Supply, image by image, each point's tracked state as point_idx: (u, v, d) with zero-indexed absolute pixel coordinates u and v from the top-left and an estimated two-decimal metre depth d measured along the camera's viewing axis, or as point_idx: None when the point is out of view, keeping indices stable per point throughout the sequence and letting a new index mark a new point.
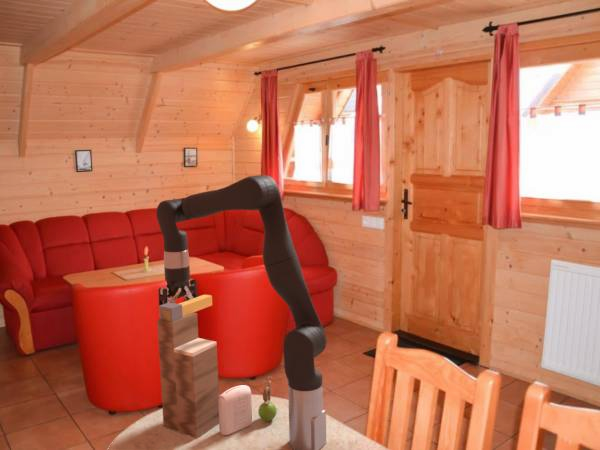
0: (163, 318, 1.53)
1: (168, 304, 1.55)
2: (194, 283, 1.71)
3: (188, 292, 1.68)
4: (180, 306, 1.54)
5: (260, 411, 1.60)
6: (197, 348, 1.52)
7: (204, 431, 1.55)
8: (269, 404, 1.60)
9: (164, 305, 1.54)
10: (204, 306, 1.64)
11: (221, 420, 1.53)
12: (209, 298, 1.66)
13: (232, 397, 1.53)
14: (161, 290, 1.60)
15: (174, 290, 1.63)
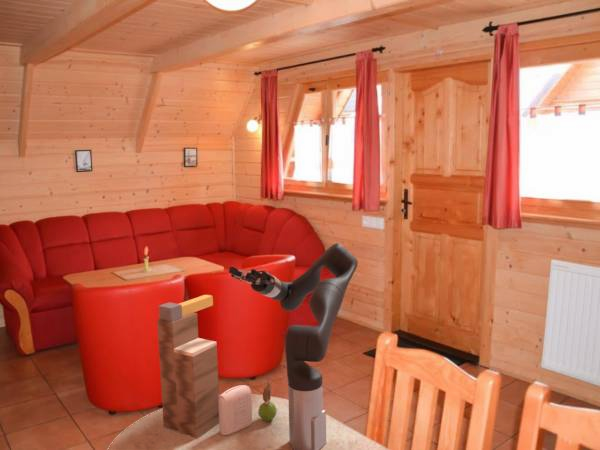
0: (163, 318, 1.54)
1: (168, 304, 1.55)
2: None
3: None
4: (180, 306, 1.54)
5: (260, 411, 1.60)
6: (197, 348, 1.52)
7: (204, 431, 1.55)
8: (269, 404, 1.60)
9: (164, 305, 1.54)
10: (204, 306, 1.64)
11: (221, 420, 1.53)
12: (210, 298, 1.66)
13: (232, 397, 1.53)
14: None
15: None
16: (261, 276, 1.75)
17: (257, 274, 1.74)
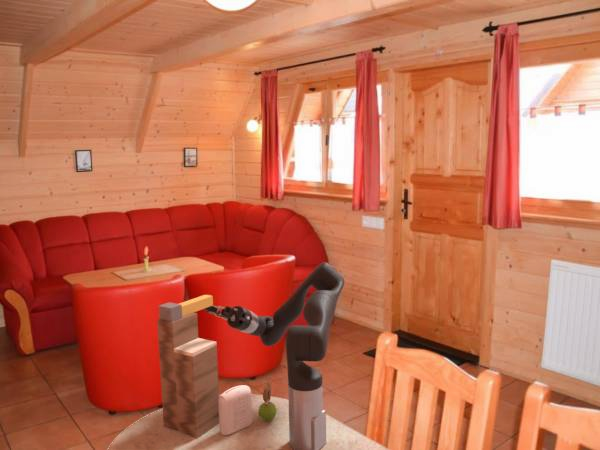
0: (163, 318, 1.54)
1: (168, 304, 1.55)
2: None
3: None
4: (180, 306, 1.54)
5: (260, 411, 1.60)
6: (197, 348, 1.52)
7: (204, 431, 1.55)
8: (269, 404, 1.60)
9: (164, 305, 1.54)
10: (204, 306, 1.64)
11: (221, 420, 1.53)
12: (210, 298, 1.66)
13: (232, 397, 1.53)
14: None
15: None
16: (236, 313, 1.71)
17: (231, 311, 1.70)
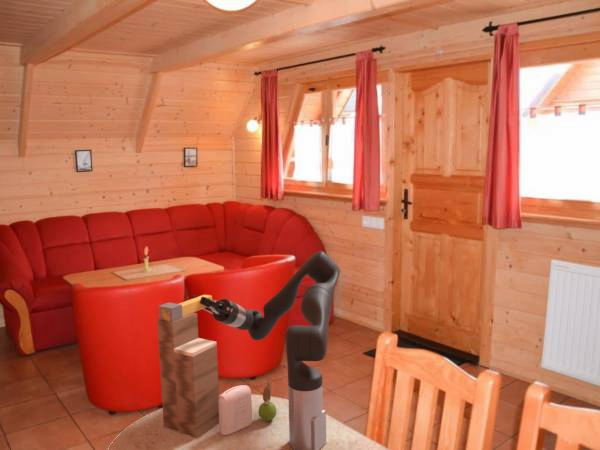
0: (163, 318, 1.53)
1: (168, 304, 1.55)
2: None
3: None
4: (180, 306, 1.54)
5: (260, 411, 1.60)
6: (197, 348, 1.52)
7: (204, 431, 1.55)
8: (269, 404, 1.60)
9: (164, 305, 1.54)
10: (204, 306, 1.64)
11: (221, 420, 1.53)
12: (209, 298, 1.66)
13: (232, 397, 1.53)
14: None
15: None
16: (212, 304, 1.65)
17: (208, 302, 1.64)
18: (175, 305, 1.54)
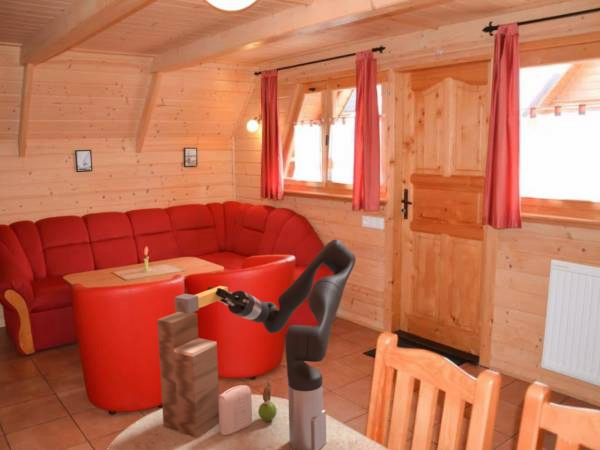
0: (179, 310, 1.50)
1: (184, 295, 1.51)
2: None
3: None
4: (196, 297, 1.50)
5: (260, 411, 1.60)
6: (197, 348, 1.52)
7: (204, 431, 1.55)
8: (269, 404, 1.60)
9: (180, 296, 1.50)
10: (220, 298, 1.60)
11: (221, 420, 1.53)
12: (225, 289, 1.62)
13: (232, 397, 1.53)
14: None
15: None
16: (228, 296, 1.61)
17: (224, 293, 1.60)
18: (191, 296, 1.50)
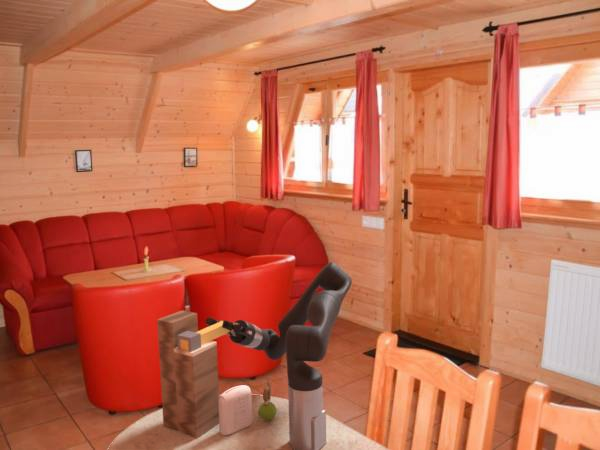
0: (181, 347, 1.51)
1: (186, 333, 1.53)
2: None
3: None
4: (199, 335, 1.52)
5: (260, 411, 1.60)
6: None
7: (204, 431, 1.55)
8: (269, 404, 1.60)
9: (182, 334, 1.52)
10: (222, 333, 1.62)
11: (221, 420, 1.53)
12: None
13: (232, 397, 1.53)
14: None
15: None
16: (234, 328, 1.62)
17: (230, 326, 1.61)
18: (194, 334, 1.52)
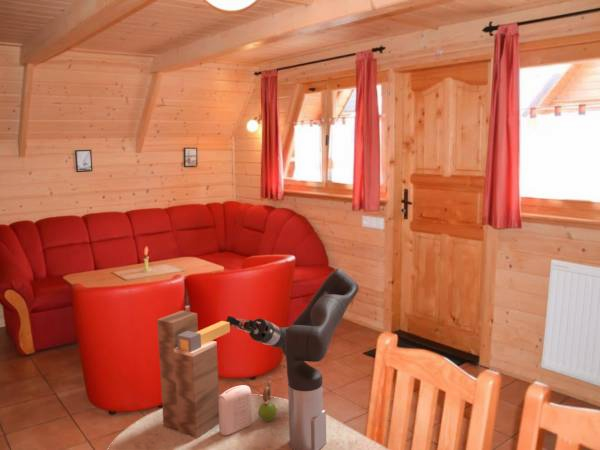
0: (181, 347, 1.51)
1: (186, 333, 1.53)
2: None
3: None
4: (199, 335, 1.52)
5: (260, 411, 1.60)
6: None
7: (204, 431, 1.55)
8: (269, 404, 1.60)
9: (182, 334, 1.52)
10: (222, 333, 1.62)
11: (221, 420, 1.53)
12: (227, 325, 1.64)
13: (232, 397, 1.53)
14: None
15: None
16: (259, 327, 1.71)
17: (255, 325, 1.70)
18: (194, 334, 1.52)
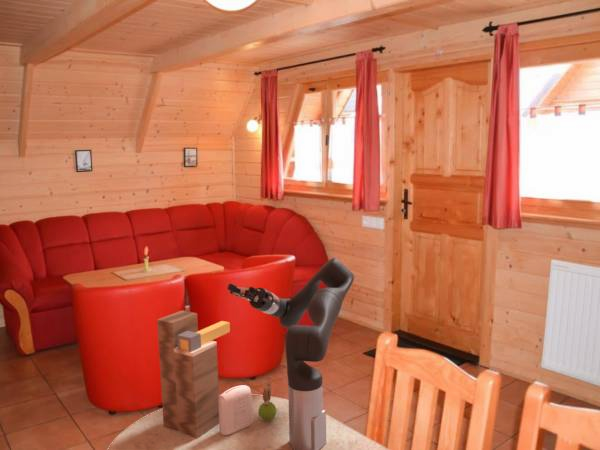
0: (181, 347, 1.51)
1: (186, 333, 1.53)
2: None
3: None
4: (199, 335, 1.52)
5: (260, 411, 1.60)
6: None
7: (204, 431, 1.55)
8: (269, 404, 1.60)
9: (182, 334, 1.52)
10: (222, 333, 1.62)
11: (221, 420, 1.53)
12: (227, 325, 1.64)
13: (232, 397, 1.53)
14: None
15: None
16: (259, 294, 1.78)
17: (255, 292, 1.76)
18: (194, 334, 1.52)
